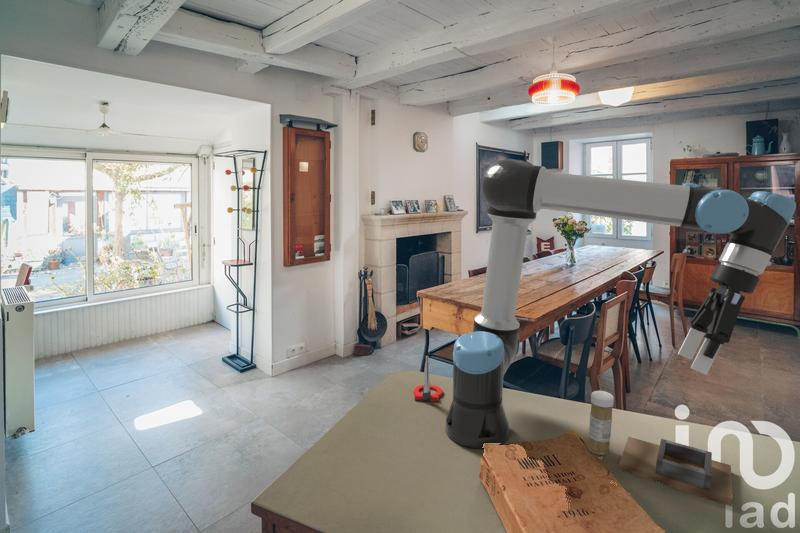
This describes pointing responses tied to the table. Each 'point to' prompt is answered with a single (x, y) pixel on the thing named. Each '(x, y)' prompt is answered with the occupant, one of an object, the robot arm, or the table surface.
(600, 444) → the sprinkles bottle
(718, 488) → the cup bracket
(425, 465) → the table surface
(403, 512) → the table surface
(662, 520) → the table surface
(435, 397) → the tow hook
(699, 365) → the robot arm
